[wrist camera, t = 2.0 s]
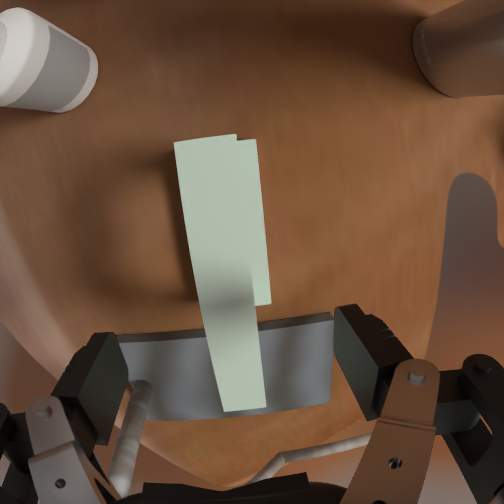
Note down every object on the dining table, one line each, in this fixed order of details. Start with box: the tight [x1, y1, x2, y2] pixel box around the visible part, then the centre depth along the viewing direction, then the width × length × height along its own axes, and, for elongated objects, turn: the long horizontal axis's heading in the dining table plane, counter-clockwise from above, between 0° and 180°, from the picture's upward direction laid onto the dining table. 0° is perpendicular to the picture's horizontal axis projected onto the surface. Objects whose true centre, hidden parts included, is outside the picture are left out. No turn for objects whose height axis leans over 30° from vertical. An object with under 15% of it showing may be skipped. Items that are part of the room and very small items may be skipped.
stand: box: [174, 134, 271, 412], centre depth 20 cm, size 6×14×14 cm, turn 6°
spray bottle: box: [0, 7, 98, 113], centre depth 12 cm, size 7×7×18 cm
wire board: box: [108, 312, 372, 498], centre depth 24 cm, size 24×12×18 cm, turn 96°
